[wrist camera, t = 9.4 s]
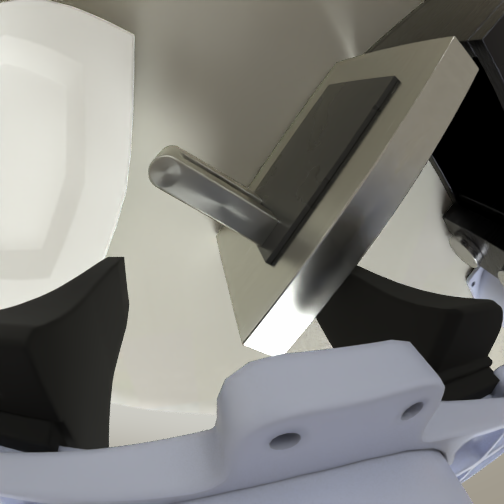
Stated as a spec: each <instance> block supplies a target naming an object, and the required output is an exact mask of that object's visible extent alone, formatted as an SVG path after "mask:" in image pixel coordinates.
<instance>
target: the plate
mask: <svg viewBox="0 0 504 504" xmlns="http://www.w3.org/2000/svg"><path fill="white" fill-rule="evenodd" d="M134 50H135V35H134V34H132V33H130V32H128V31H126V30H124V29H122V28H120V27H118V26H116V25H114V24H112V23H110V22H108V21H106V20H104V19H102V18H100V17H98V16H95V15H93V14H91V13H88V12H86V11H83V10H81V9H78V8H76V7H73V6H70V5H66V4H62V3H58V2H54V1H50V0H10V1H5V2H0V310H1V309H5V308H9V307H12V306H16V305H19V304H21V303H24V302H27V301H30V300H32V299H35V298H38V297H40V296H42V295H44V294H46V293H49V292H51V291H53V290H55V289H57V288H59V287H60V286H62V285H64V284H65V283H67V282H69V281H70V280H72V279H74V278H75V277H77V276H79V275H80V274H82V273H83V272H85V271H86V270H88V269H89V268H91V267H92V266H94V265H95V264H97V263H98V262H100V261H102V260H103V259H105V257H106V254H107V251H108V248H109V245H110V243H111V240H112V237H113V234H114V232H115V229H116V227H117V223H118V219H119V216H120V212H121V209H122V205H123V202H124V198H125V195H126V191H127V182H128V173H129V166H130V158H131V144H132V127H133V104H134Z"/></svg>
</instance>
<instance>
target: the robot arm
mask: <svg viewBox="0 0 504 504" xmlns="http://www.w3.org/2000/svg"><path fill="white" fill-rule="evenodd" d="M466 283H467V285H468V287H469V289H470V291H471V293H472V296H473V298H461V297H453V296H446V295H441V294H436V293H431V292H427V291H423V290H419V289H416V288H412V287H409V286H406V285H403V284H400V283H397V282H394V281H392V280H389V279H387V278H384V277H382V276H380V275H377V274H375V273H373V272H370V271H368V270H366V269H364V268H362V267H359V266H357V265H356V267H355V268H354V269H353V271H352V272H351V273H350V275H349V276H348V277H347V278H346V280H345V281H344V282H343V284H342V285H341V286H340V288H339V289H338V290H337V291H336V293H335V294H334V295H333V297H332V298H331V299H330V300H329V302H328V303H327V304H326V305H325V307H324V308H323V309H322V310H321V312H320V313H319V314H318V315H317V316H316V318H317V321H318V323H319V324H320V326H321V328H322V330H323V331H324V333H325V335H326V337H327V338H328V340H329V342H330V344H331V345H332V347H333V348H332V349H324V350H315V351H306V352H295V353H284V354H278V355H274V356H270V357H267V358H263V359H259V360H255V361H251V362H248V363H247V364H246V365H244V366H243V367H241V368H240V369H239V370H237V371H236V372H235V373H233V374H232V375H230V376H229V377H228V378H226V379H225V381H224V383H223V386H222V388H221V390H220V393H219V395H218V397H217V420H216V424H215V426H214V427H213V428H212V429H210V430H205V431H200V432H197V433H192V434H187V435H182V436H178V437H173V438H167V439H162V440H157V441H151V442H145V443H139V444H132V445H125V446H118V447H109V416H110V401H111V391H112V382H113V376H114V371H115V367H116V363H117V359H118V355H119V352H120V348H121V344H122V341H123V337H124V333H125V329H126V325H127V318H128V311H129V299H128V291H127V282H126V273H125V263H124V257H107V258H105V259H103V260H102V261H100V262H98V263H97V264H95V265H94V266H92V267H91V268H89V269H88V270H86V271H85V272H83V273H82V274H80V275H79V276H77V277H75V278H74V279H72V280H70V281H69V282H67V283H65V284H64V285H62V286H60V287H59V288H57V289H55V290H53V291H51V292H49V293H46V294H44V295H42V296H40V297H38V298H35V299H32V300H30V301H27V302H24V303H21V304H19V305H16V306H12V307H9V308H5V309H1V310H0V504H473V502H472V500H471V499H470V497H469V496H468V494H467V493H466V491H465V489H464V488H463V486H462V484H461V483H463V482H464V481H466V480H467V479H468V478H470V477H471V476H473V475H474V474H476V473H477V472H479V471H480V470H481V469H483V468H484V467H485V466H487V465H488V464H490V463H491V462H492V461H494V460H495V459H496V458H497V457H499V456H500V455H502V454H503V453H504V365H502V366H500V367H498V368H497V369H496V370H495V371H494V372H493V370H492V369H491V368H490V367H489V366H491V365H492V360H491V359H490V358H489V357H488V354H489V352H490V350H491V348H492V346H493V344H494V342H495V340H496V338H497V336H498V334H499V331H500V329H501V326H502V327H503V328H504V287H503V285H502V284H501V282H500V280H499V279H498V278H496V277H495V276H493V275H492V274H491V273H489V272H488V271H486V270H485V269H483V268H482V267H480V266H478V267H477V268H475V269H474V270H473V272H472V273H471V274H470V275H469V276H468V278H467V281H466Z"/></svg>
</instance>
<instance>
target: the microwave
mask: <svg viewBox="0 0 504 504" xmlns="http://www.w3.org/2000/svg"><path fill="white" fill-rule="evenodd" d="M450 36H455V37H456V38H457V39H458V41H459V42H460V43H461V44H462V46H463V47H464V48H465V50H466V51H467V52H468V54H469V55H470V57H471V58H472V59H473V61H474V62H475V64H476V65H477V66H478V68H479V71H478V73H477V75H476V77H475V79H474V81H473V83H472V84H471V86H470V88H469V90H468V92H467V94H466V96H465V98H464V100H463V101H462V103H461V105H460V107H459V109H458V111H457V112H456V114H455V116H454V118H453V119H452V121H451V123H450V125H449V126H448V128H447V130H446V132H445V133H444V135H443V137H442V138H441V140H440V142H439V143H438V145H437V147H436V148H435V150H434V152H433V153H432V155H431V157H430V158H429V161H430V163H431V164H432V166H433V168H434V169H435V171H436V173H437V174H438V176H439V178H440V180H441V181H442V183H443V185H444V187H445V189H446V190H447V192H448V194H449V196H450V198H451V200H452V202H453V204H452V206H451V207H450V208H449V209H448V210H447V212H446V213H445V214H444V215H443V219H444V221H445V223H446V224H447V226H448V228H449V230H450V232H451V234H452V236H451V238H450V239H449V244H450V246H451V248H452V249H453V251H454V252H455V253H456V254H457V255H458V257H459V258H460V259H461V260H463V261H464V262H465V263H466V264H467V265H469V266H471V267H473V268H477V267H478V266H480V267H482V268H483V269H485V270H486V271H488V272H489V273H491V274H492V275H493V276H495V277H496V278H498V279H499V280H500V282H501V284H502V285H503V287H504V0H425V1H424V2H423V3H422V4H421V5H419V6H418V7H417V8H416V9H415V10H413V11H412V12H411V13H410V14H409V15H408V16H406V17H405V18H404V19H403V20H402V21H401V22H399V23H398V24H397V25H396V26H395V27H394V28H392V29H391V30H390V31H389V32H388V33H387V34H386V35H384V36H383V37H382V38H381V39H380V40H379V41H378V42H377V43H376V44H374V45H373V46H372V47H371V48H370V49H369V50H368V51H367V52H366V53H364V54H367V53H371V52H375V51H379V50H383V49H387V48H392V47H396V46H401V45H405V44H410V43H415V42H421V41H426V40H432V39H438V38H444V37H450Z"/></svg>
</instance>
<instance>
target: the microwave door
mask: <svg viewBox="0 0 504 504" xmlns="http://www.w3.org/2000/svg"><path fill="white" fill-rule="evenodd" d="M478 71H479V68H478V66H477V65H476V64H475V62H474V61H473V59H472V58H471V57H470V55H469V54H468V52H467V51H466V50H465V48H464V47H463V46H462V44H461V43H460V42H459V41H458V39H457V38H456V37H455V36H450V37H444V38H438V39H432V40H426V41H421V42H415V43H410V44H405V45H401V46H396V47H392V48H387V49H383V50H379V51H375V52H371V53H367V54H363V55H360V56H356V57H352V58H349V59H345V60H342V61H339V62H336V64H335V65H334V66H333V68H332V69H331V70H330V72H329V73H328V74H327V76H326V77H325V79H324V80H323V81H322V83H321V84H320V85H319V87H318V88H317V89H316V91H315V92H314V94H313V95H312V96H311V98H310V99H309V101H308V102H307V103H306V105H305V106H304V108H303V109H302V110H301V112H300V113H299V115H298V116H297V117H296V119H295V120H294V122H293V123H292V124H291V126H290V127H289V129H288V130H287V132H286V133H285V134H284V136H283V137H282V139H281V140H280V142H279V143H278V145H277V146H276V147H275V149H274V150H273V152H272V153H271V155H270V156H269V158H268V159H267V160H266V162H265V163H264V165H263V166H262V168H261V169H260V171H259V172H258V174H257V175H256V177H255V178H254V180H253V181H252V183H251V184H250V186H249V187H248V188H246V187H244V186H243V185H241V184H240V183H238V182H236V181H235V180H233V179H231V178H230V177H228V176H227V175H225V174H223V173H222V172H220V171H218V170H217V169H215V168H213V167H212V166H210V165H208V164H207V163H205V162H203V161H202V160H200V159H198V158H197V157H195V156H193V155H192V154H190V153H188V152H186V151H185V150H183V149H181V148H180V147H178V146H174V145H171V146H167V147H165V148H164V149H163V150H162V151H161V152H160V153H159V154H158V155H157V156H156V157H155V159H154V160H153V161H152V162H151V164H150V166H149V169H148V176H149V179H150V181H151V183H152V184H153V185H154V186H155V187H157V188H159V189H160V190H162V191H164V192H166V193H167V194H169V195H171V196H173V197H175V198H176V199H178V200H180V201H182V202H183V203H185V204H187V205H189V206H190V207H192V208H194V209H196V210H198V211H199V212H201V213H203V214H205V215H206V216H208V217H210V218H212V219H213V220H215V221H217V222H219V223H220V224H222V225H223V226H222V228H221V229H220V231H219V232H218V234H217V235H216V239H217V243H218V247H219V252H220V256H221V260H222V264H223V269H224V273H225V277H226V281H227V285H228V290H229V294H230V298H231V302H232V306H233V310H234V314H235V318H236V322H237V326H238V330H239V334H240V338H241V342H242V344H243V345H244V346H247V347H249V348H252V349H254V350H257V351H259V352H262V353H265V354H267V355H270V356H274V355H278V354H284V353H286V352H287V351H288V350H289V349H290V348H291V346H292V345H293V344H294V343H295V342H296V340H297V339H298V338H299V337H300V336H301V335H302V333H303V332H304V331H305V330H306V329H307V327H308V326H309V325H310V324H311V323H312V321H313V320H314V319H315V318H316V316H317V315H318V314H319V313H320V312H321V310H322V309H323V308H324V307H325V305H326V304H327V303H328V302H329V300H330V299H331V298H332V297H333V295H334V294H335V293H336V291H337V290H338V289H339V288H340V286H341V285H342V284H343V282H344V281H345V280H346V278H347V277H348V276H349V275H350V273H351V272H352V271H353V269H354V268H355V267H356V265H357V264H358V263H359V261H360V260H361V259H362V257H363V256H364V254H365V253H366V252H367V250H368V249H369V248H370V246H371V245H372V244H373V242H374V241H375V239H376V238H377V237H378V235H379V234H380V232H381V231H382V229H383V228H384V227H385V225H386V224H387V222H388V221H389V219H390V218H391V217H392V215H393V214H394V212H395V211H396V209H397V208H398V206H399V205H400V203H401V202H402V200H403V199H404V197H405V196H406V194H407V193H408V191H409V190H410V188H411V187H412V185H413V184H414V182H415V181H416V179H417V177H418V176H419V174H420V173H421V171H422V170H423V168H424V166H425V165H426V163H427V162H428V160H429V158H430V157H431V155H432V153H433V152H434V150H435V148H436V147H437V145H438V143H439V142H440V140H441V138H442V137H443V135H444V133H445V132H446V130H447V128H448V126H449V125H450V123H451V121H452V119H453V118H454V116H455V114H456V112H457V111H458V109H459V107H460V105H461V103H462V101H463V100H464V98H465V96H466V94H467V92H468V90H469V88H470V86H471V84H472V83H473V81H474V79H475V77H476V75H477V73H478Z"/></svg>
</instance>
